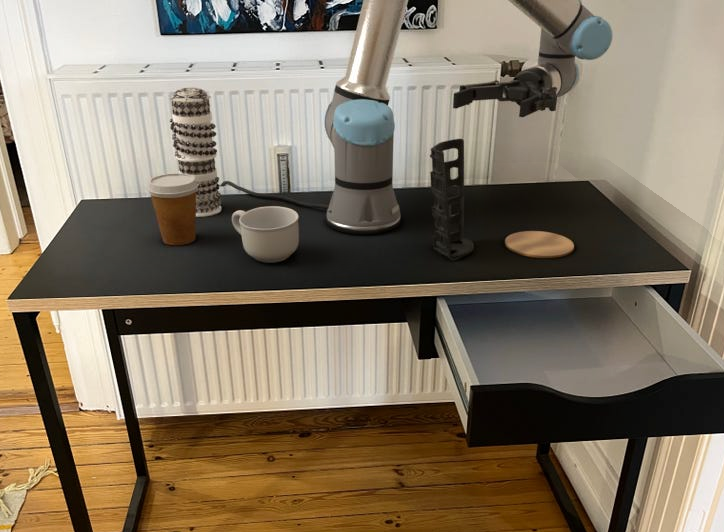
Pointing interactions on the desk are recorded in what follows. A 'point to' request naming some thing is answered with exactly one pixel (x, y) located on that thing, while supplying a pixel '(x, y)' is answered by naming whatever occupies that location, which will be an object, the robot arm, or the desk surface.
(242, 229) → the teacup
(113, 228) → the desk surface
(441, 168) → the holder
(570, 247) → the cork mat
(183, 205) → the disposable coffee cup
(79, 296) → the desk surface
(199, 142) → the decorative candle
